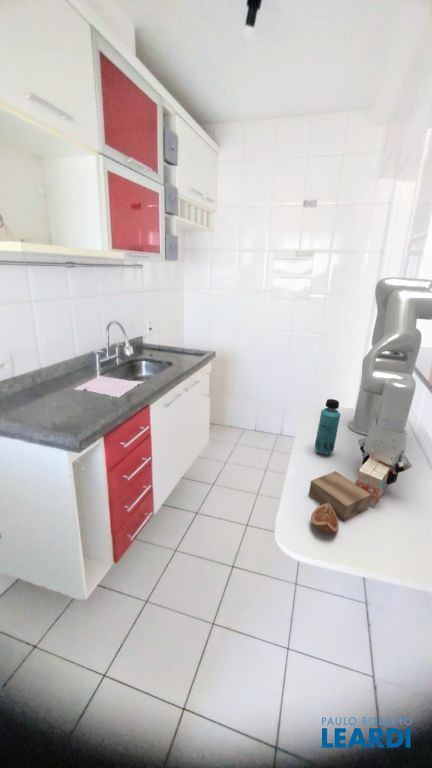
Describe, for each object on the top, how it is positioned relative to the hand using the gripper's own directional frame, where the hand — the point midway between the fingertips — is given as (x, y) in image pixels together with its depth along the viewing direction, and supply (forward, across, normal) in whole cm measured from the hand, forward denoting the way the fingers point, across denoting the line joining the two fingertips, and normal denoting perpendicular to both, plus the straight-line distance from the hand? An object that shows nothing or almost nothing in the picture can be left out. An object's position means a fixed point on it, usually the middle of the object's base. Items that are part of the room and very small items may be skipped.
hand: (377, 475), depth 102 cm
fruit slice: (+4, +5, -28) cm, 29 cm away
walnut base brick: (+4, 0, -17) cm, 17 cm away
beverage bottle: (+4, -20, 0) cm, 21 cm away
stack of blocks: (+4, 0, -1) cm, 4 cm away
